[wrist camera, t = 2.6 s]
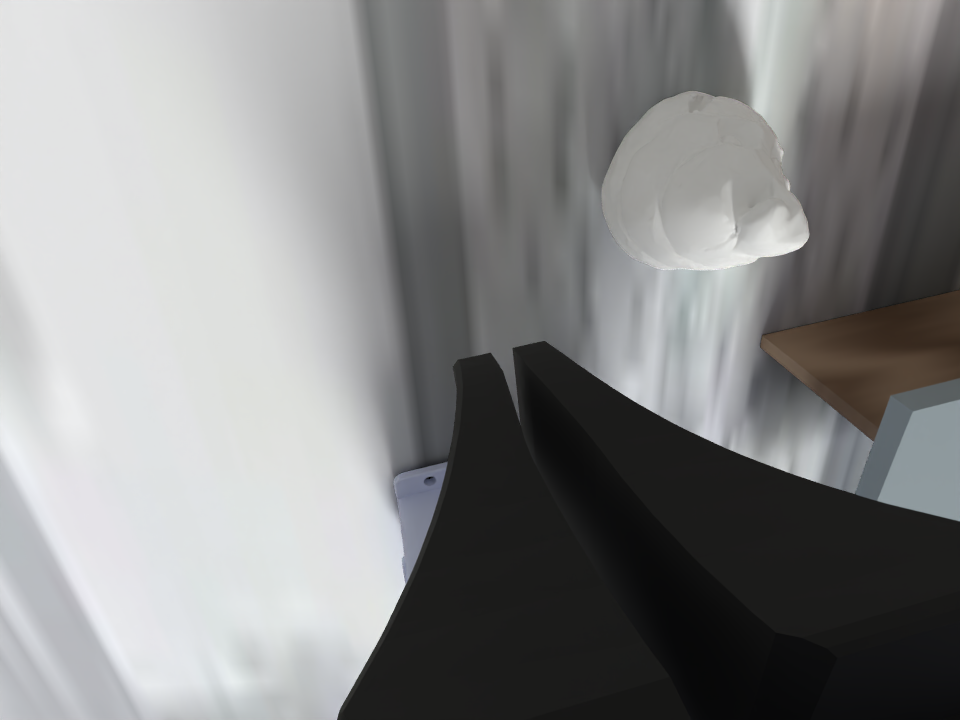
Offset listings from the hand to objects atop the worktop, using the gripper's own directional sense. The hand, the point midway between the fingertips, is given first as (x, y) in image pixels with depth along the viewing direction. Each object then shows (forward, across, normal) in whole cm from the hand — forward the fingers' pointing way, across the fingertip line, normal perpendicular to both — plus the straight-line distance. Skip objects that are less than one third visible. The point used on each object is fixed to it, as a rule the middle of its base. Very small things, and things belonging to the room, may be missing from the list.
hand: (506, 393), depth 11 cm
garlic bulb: (+10, -8, 0) cm, 13 cm away
